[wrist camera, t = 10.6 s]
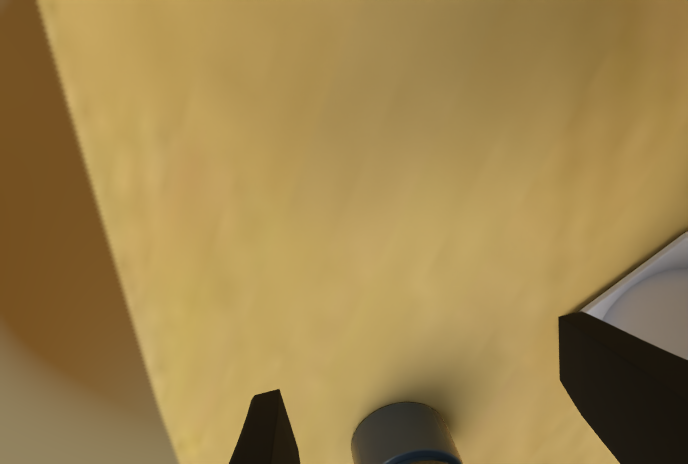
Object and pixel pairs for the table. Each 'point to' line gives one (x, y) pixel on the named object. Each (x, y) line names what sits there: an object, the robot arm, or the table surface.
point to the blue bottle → (404, 437)
